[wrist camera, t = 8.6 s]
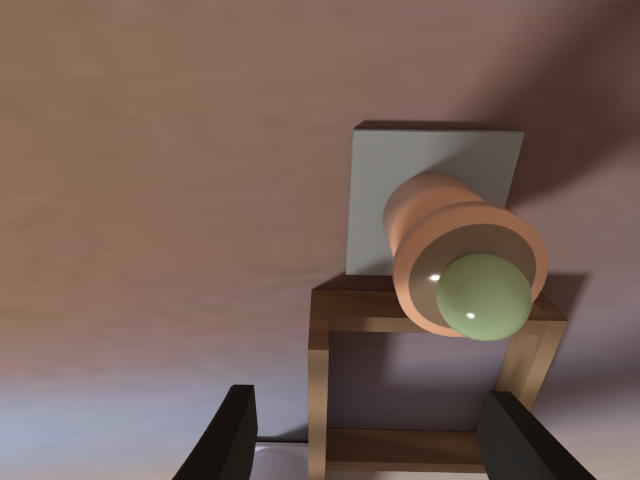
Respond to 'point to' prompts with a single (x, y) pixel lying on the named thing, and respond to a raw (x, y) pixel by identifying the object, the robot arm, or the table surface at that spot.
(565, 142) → the table surface
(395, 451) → the frame
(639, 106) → the table surface
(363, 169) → the slate coaster
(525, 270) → the flower pot
